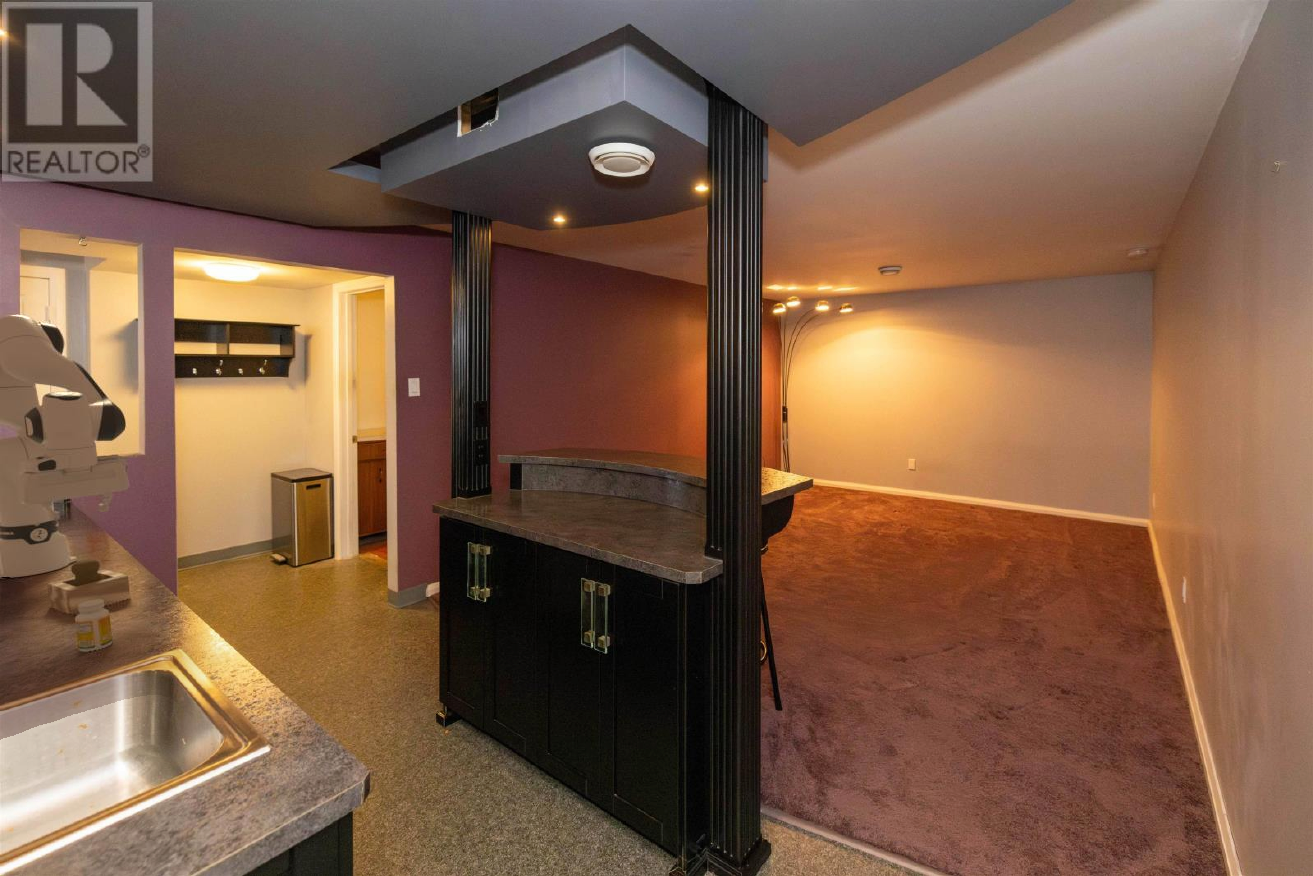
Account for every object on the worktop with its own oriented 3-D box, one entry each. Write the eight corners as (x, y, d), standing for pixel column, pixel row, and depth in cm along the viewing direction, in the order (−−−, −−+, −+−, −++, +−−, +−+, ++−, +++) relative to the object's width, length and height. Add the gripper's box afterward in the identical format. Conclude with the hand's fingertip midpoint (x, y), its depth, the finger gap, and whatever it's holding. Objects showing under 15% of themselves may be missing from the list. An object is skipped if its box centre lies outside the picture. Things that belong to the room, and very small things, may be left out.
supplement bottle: (80, 655, 126) (74, 609, 125) (76, 647, 129) (70, 603, 128) (115, 645, 130) (110, 601, 129) (110, 638, 134) (105, 595, 132)
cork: (86, 608, 151) (80, 564, 149) (67, 607, 152) (61, 563, 151) (112, 599, 157) (107, 557, 155) (93, 597, 158) (88, 556, 156)
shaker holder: (50, 607, 152) (47, 583, 151) (108, 591, 162) (105, 569, 161) (72, 615, 147) (69, 590, 146) (130, 598, 157) (127, 575, 156)
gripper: (118, 452, 161) (124, 505, 162) (10, 464, 142) (18, 523, 144) (131, 454, 158) (137, 507, 159) (22, 466, 140) (30, 526, 141)
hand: (79, 515), depth 152 cm, fingers open, 8 cm apart
